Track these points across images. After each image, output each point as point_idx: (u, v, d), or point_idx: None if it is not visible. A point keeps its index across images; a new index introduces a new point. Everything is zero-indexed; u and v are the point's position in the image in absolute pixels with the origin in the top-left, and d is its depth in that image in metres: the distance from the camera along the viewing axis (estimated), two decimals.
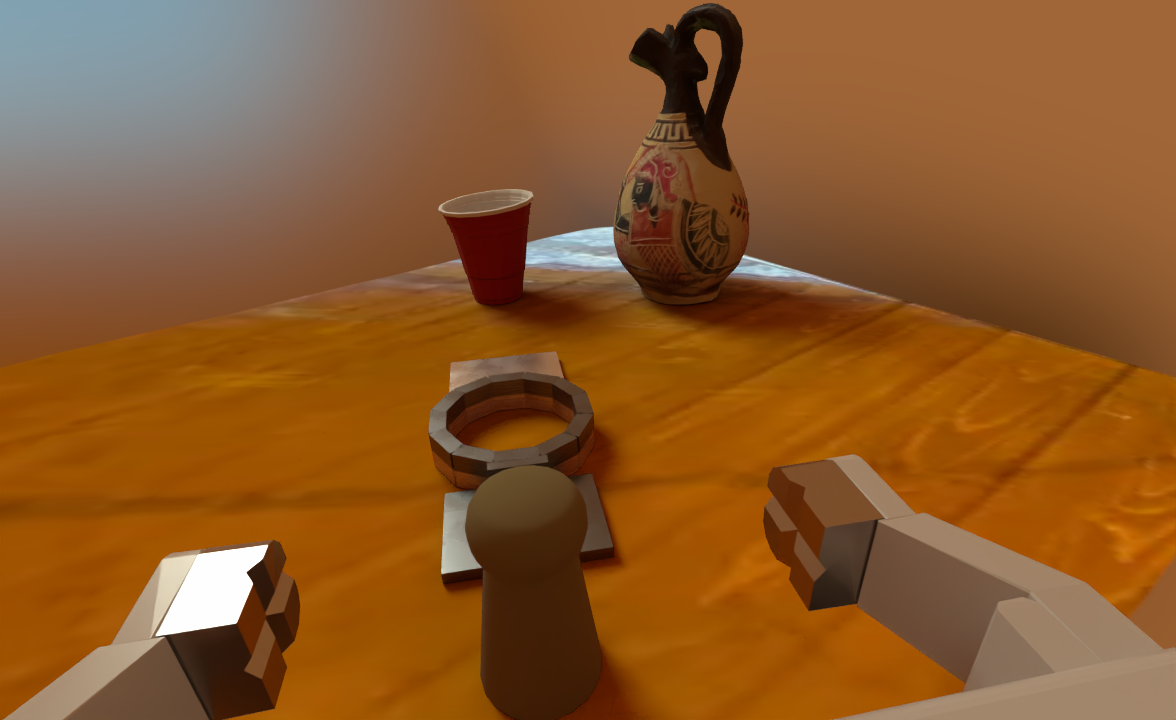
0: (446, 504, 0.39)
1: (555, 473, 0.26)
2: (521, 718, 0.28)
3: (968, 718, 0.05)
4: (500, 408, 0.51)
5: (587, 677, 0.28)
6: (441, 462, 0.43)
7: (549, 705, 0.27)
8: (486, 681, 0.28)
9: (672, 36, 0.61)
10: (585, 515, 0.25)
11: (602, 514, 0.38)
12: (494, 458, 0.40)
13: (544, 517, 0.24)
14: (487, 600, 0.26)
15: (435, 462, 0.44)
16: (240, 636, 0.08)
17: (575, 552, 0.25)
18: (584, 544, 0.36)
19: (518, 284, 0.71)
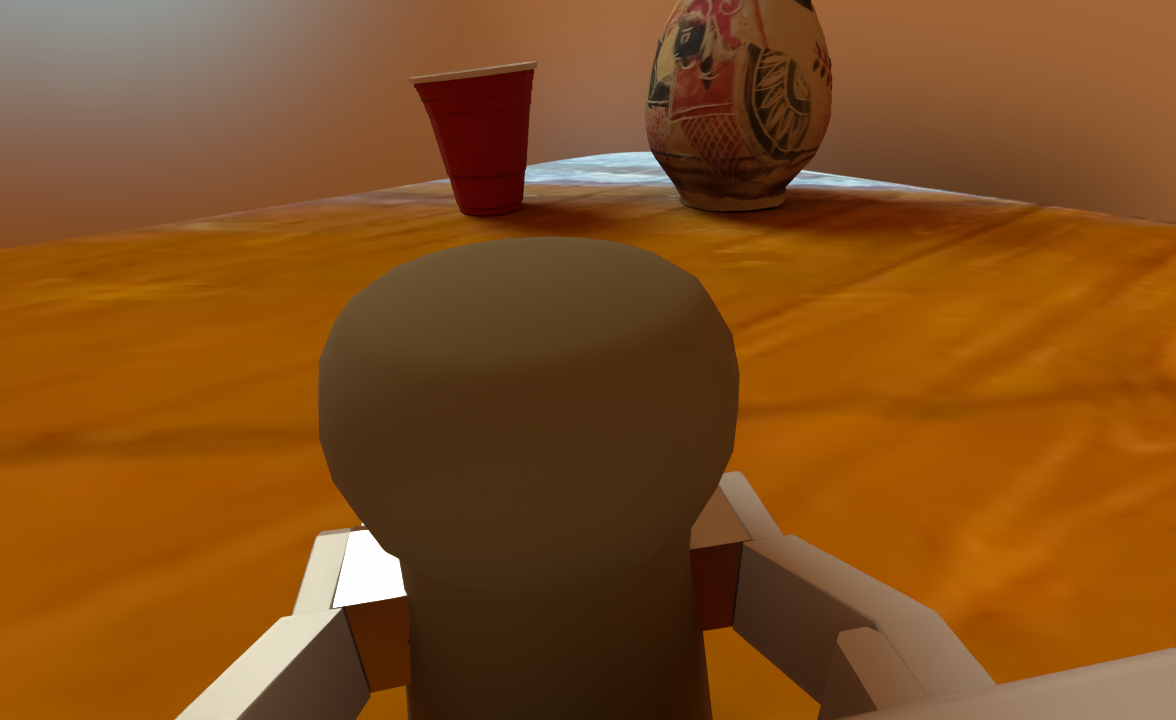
0: None
1: (625, 244, 0.08)
2: None
3: (968, 719, 0.05)
4: None
5: None
6: None
7: None
8: None
9: None
10: (736, 359, 0.07)
11: None
12: None
13: (606, 327, 0.06)
14: (410, 647, 0.08)
15: None
16: (407, 608, 0.08)
17: (713, 480, 0.07)
18: None
19: (517, 188, 0.54)
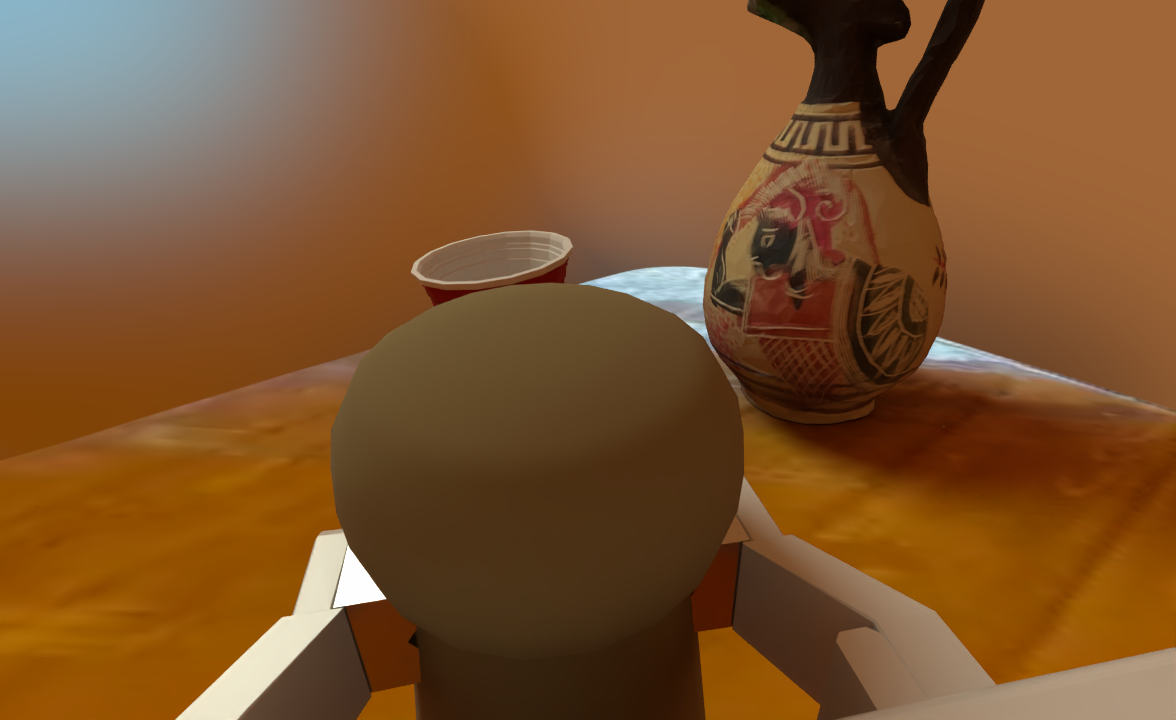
0: None
1: (631, 297, 0.08)
2: None
3: (968, 718, 0.05)
4: None
5: None
6: None
7: None
8: None
9: None
10: None
11: None
12: None
13: (623, 417, 0.06)
14: (423, 685, 0.09)
15: None
16: None
17: (720, 545, 0.07)
18: None
19: None
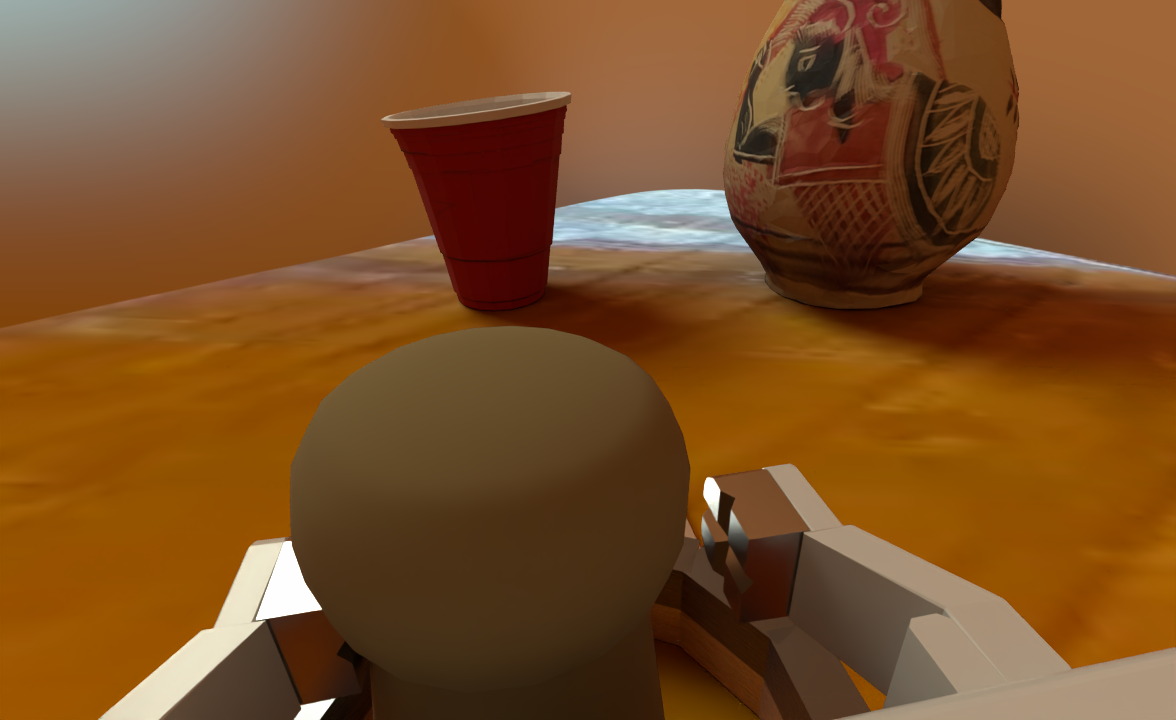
0: None
1: (585, 340, 0.09)
2: None
3: (968, 717, 0.05)
4: None
5: None
6: None
7: None
8: None
9: None
10: (686, 457, 0.08)
11: None
12: None
13: (563, 452, 0.06)
14: None
15: None
16: None
17: (664, 578, 0.07)
18: None
19: (540, 271, 0.38)
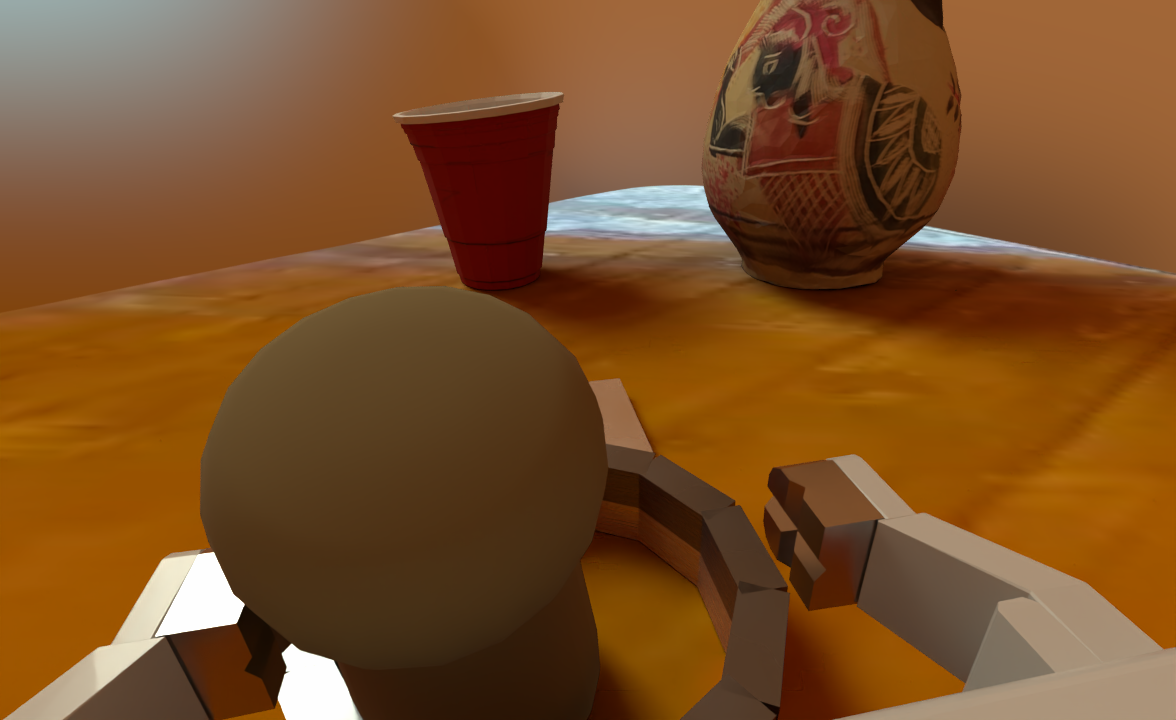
0: None
1: (513, 322, 0.08)
2: None
3: (966, 718, 0.05)
4: None
5: None
6: None
7: None
8: None
9: None
10: (603, 463, 0.08)
11: None
12: None
13: (460, 503, 0.06)
14: None
15: None
16: (240, 636, 0.08)
17: (567, 578, 0.08)
18: None
19: (535, 255, 0.41)
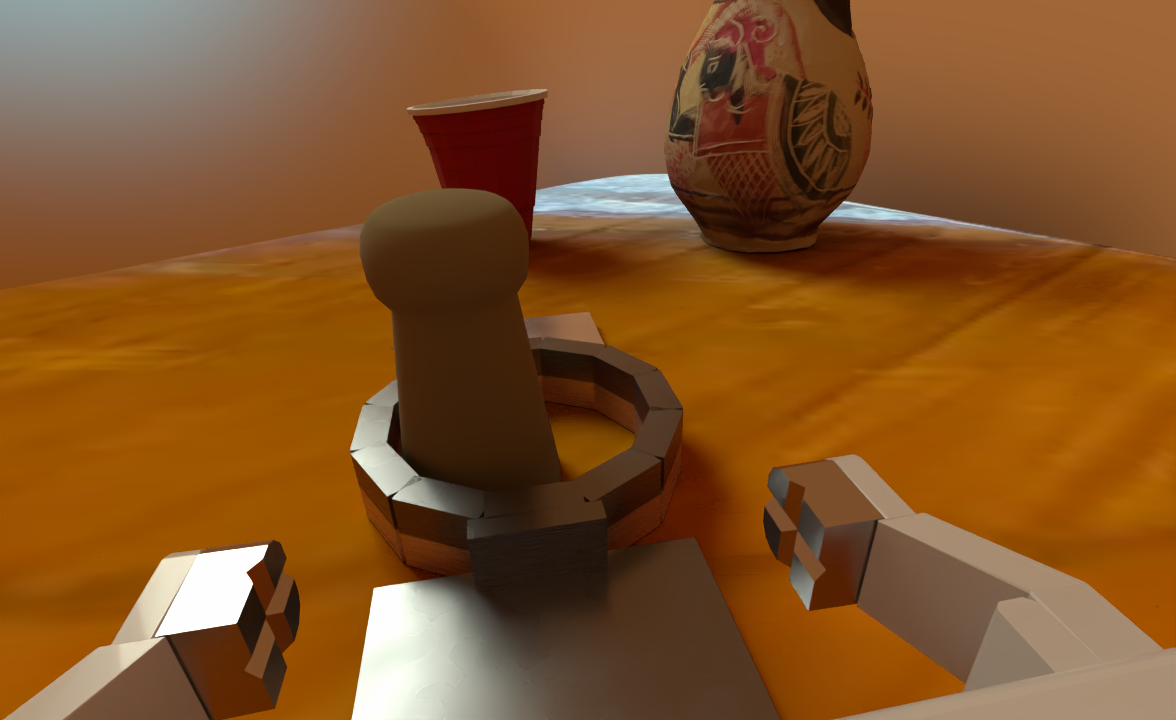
0: (374, 617, 0.17)
1: (486, 191, 0.19)
2: None
3: (968, 719, 0.05)
4: None
5: (538, 481, 0.22)
6: (376, 511, 0.21)
7: None
8: None
9: None
10: (524, 234, 0.19)
11: (743, 649, 0.16)
12: (484, 509, 0.18)
13: (461, 215, 0.17)
14: (398, 364, 0.20)
15: (367, 509, 0.22)
16: (240, 636, 0.08)
17: (509, 277, 0.18)
18: None
19: (525, 226, 0.49)
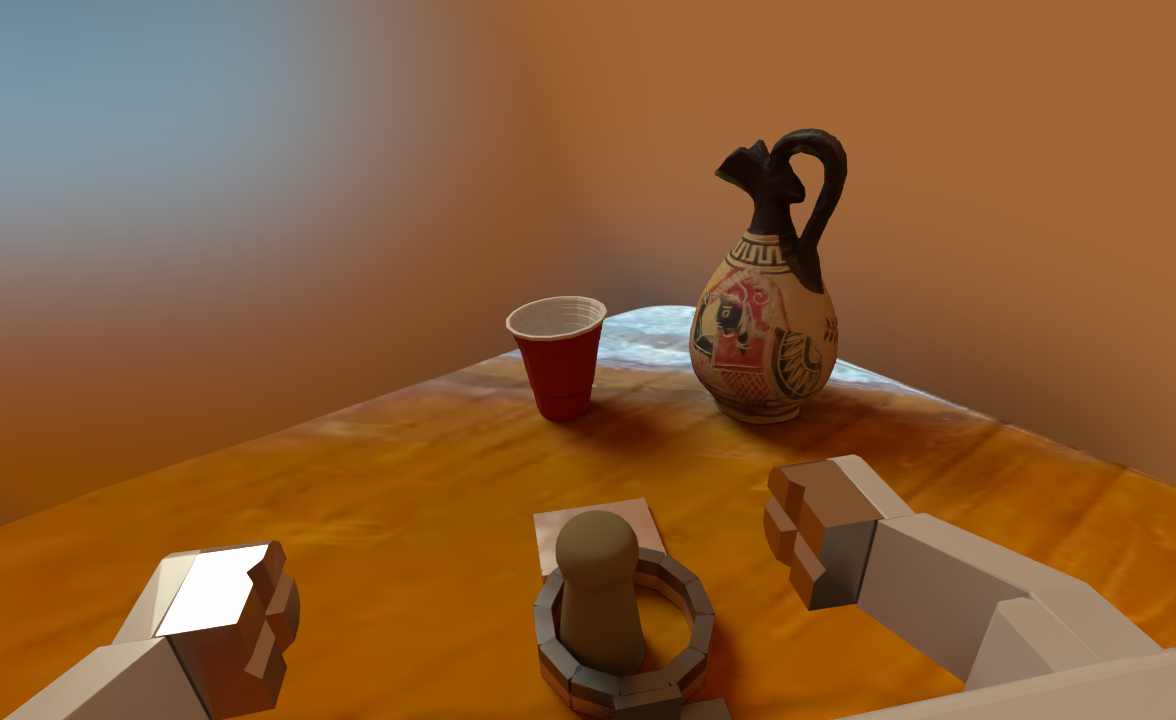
0: None
1: (616, 517, 0.38)
2: None
3: (968, 717, 0.05)
4: None
5: (636, 658, 0.40)
6: (552, 678, 0.39)
7: None
8: None
9: (765, 154, 0.57)
10: (637, 547, 0.37)
11: None
12: (619, 689, 0.36)
13: (612, 549, 0.35)
14: (569, 604, 0.38)
15: (543, 672, 0.40)
16: (240, 636, 0.08)
17: (631, 572, 0.36)
18: None
19: (587, 398, 0.67)
